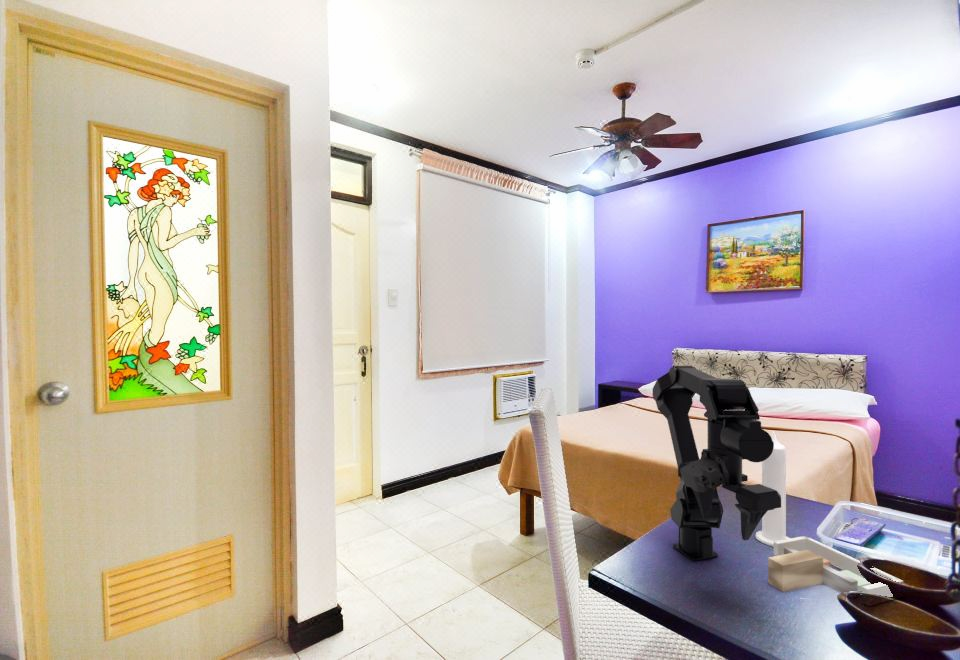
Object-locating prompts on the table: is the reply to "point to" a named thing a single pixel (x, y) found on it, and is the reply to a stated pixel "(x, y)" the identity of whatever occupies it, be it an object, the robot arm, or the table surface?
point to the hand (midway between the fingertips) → (724, 528)
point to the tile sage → (860, 579)
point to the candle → (777, 480)
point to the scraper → (805, 572)
